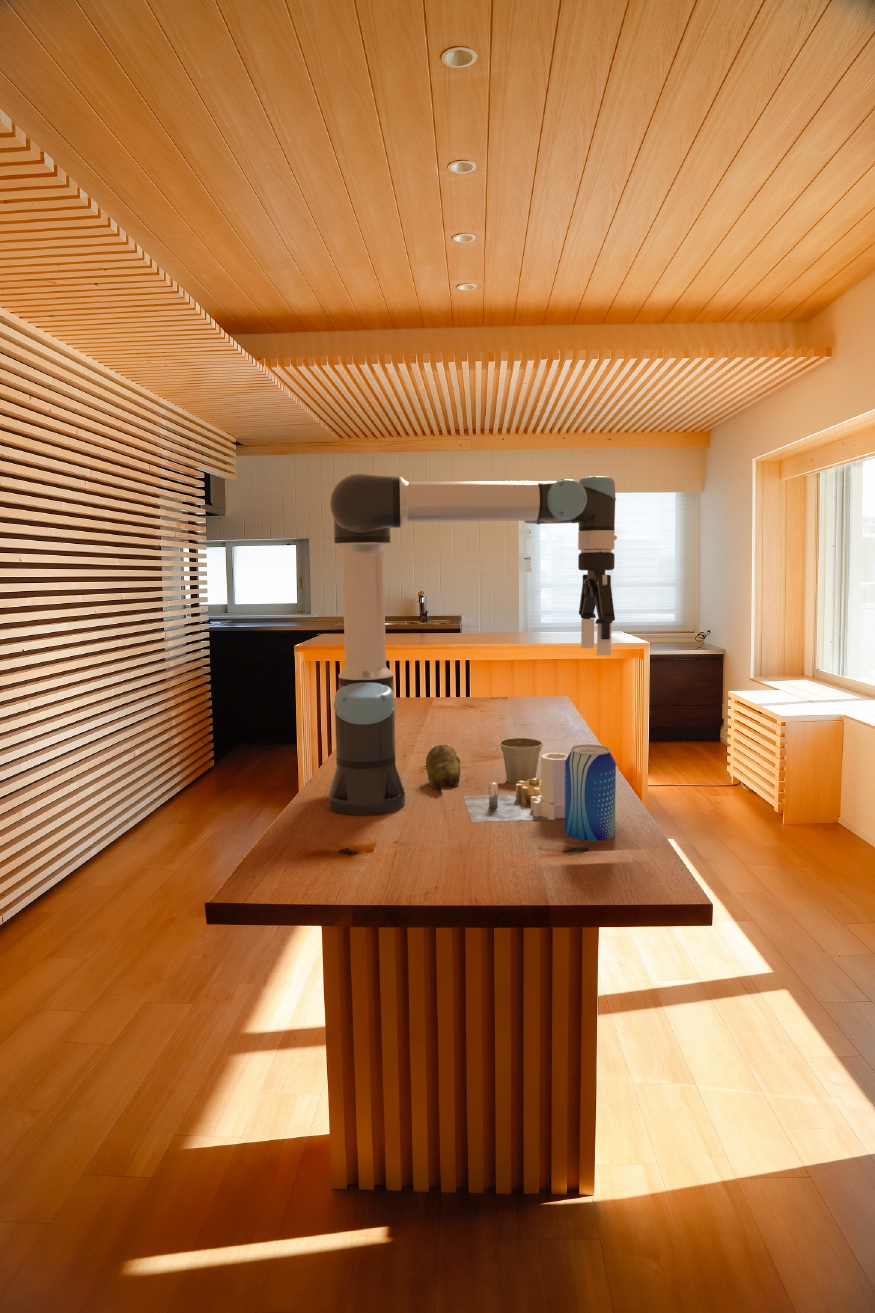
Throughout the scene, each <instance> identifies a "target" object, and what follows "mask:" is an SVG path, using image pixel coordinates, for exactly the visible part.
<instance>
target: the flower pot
mask: <svg viewBox="0 0 875 1313" xmlns="http://www.w3.org/2000/svg"><path fill="white" fill-rule="evenodd" d="M498 744H499V746H500V748H501V752H502V755H503V761H504V769H505V776H506V778H505V779H506V782H508V783H509V784H511V785H512V784H518V781H528V779H529V778H537V771H538V764H539V756H540V753H541V751H542V747H543V746H544V742H543V741H542V740H539V739H536V738H530V737H512V738H505V739H502V740H500V741H499V742H498Z"/></svg>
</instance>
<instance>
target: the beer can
mask: <svg viewBox="0 0 875 1313" xmlns="http://www.w3.org/2000/svg"><path fill="white" fill-rule="evenodd" d="M616 773H617V764H616V760H615V758H614V757H613V755H612V753H611V748H610V747H608V746H605V745H601V744H588V743H587V744H577V745H574V746H571V747H570V753H569V755H568V757H567V759H566V761H565V819H564V834H565V835H566V836H567V837H570V838H571V839H576V840H579V841H585V842H587V841H589V842H590V841H591V842H598V841H599V842H600V841H607V840H610V839H612V838H613V837H615V835H616V787H617V786H616V783H617V782H616V780H617V779H616V778H617V774H616Z"/></svg>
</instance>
